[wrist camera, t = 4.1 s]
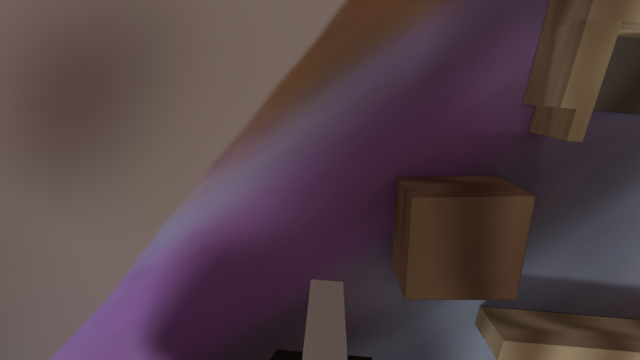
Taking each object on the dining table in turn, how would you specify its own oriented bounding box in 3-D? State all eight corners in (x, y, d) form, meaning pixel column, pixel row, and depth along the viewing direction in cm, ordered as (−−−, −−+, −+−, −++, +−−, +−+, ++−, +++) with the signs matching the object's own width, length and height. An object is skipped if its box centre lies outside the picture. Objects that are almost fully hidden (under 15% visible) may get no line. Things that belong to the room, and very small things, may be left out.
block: (392, 262, 27) (405, 299, 23) (396, 176, 25) (411, 197, 20) (483, 262, 27) (516, 299, 22) (496, 174, 25) (535, 196, 20)
